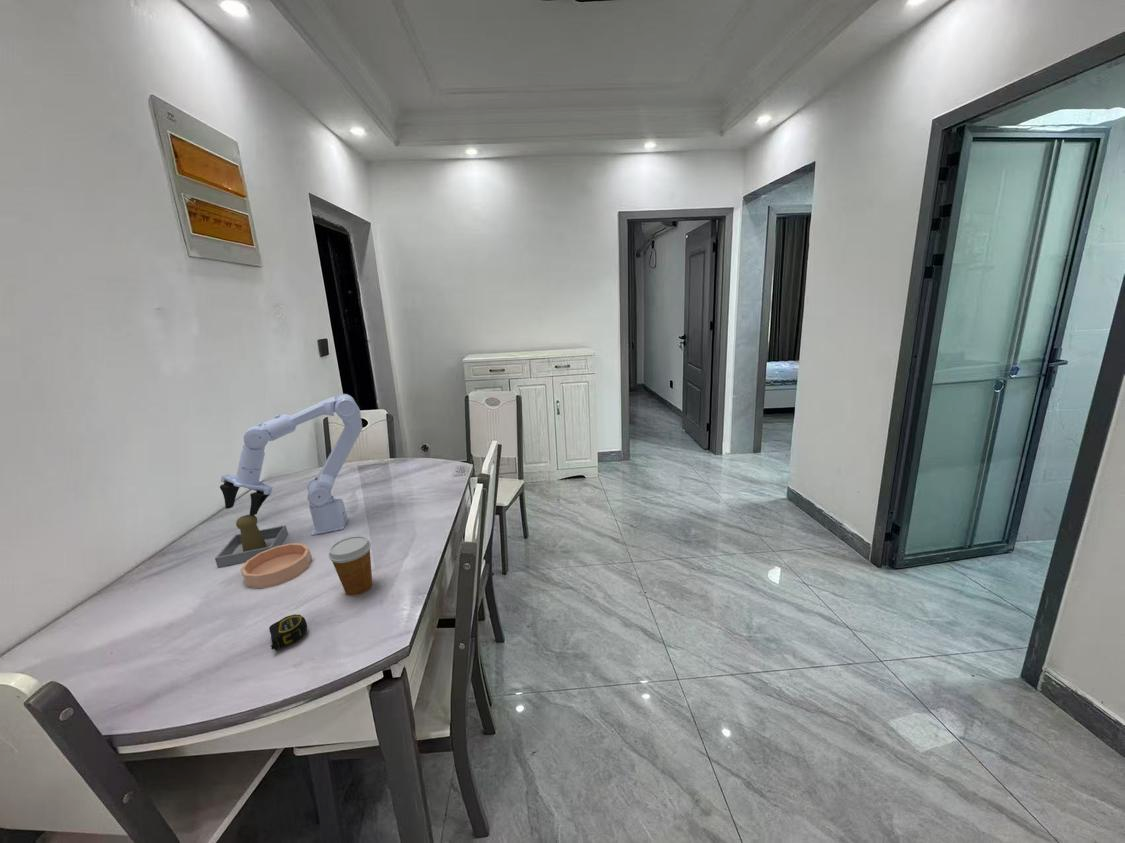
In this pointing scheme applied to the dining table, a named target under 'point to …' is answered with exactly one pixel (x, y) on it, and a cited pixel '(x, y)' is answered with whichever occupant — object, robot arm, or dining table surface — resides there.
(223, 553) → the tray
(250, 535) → the cork
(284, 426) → the robot arm
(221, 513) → the dining table surface
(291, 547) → the bowl
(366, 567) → the disposable coffee cup
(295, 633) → the tape measure
